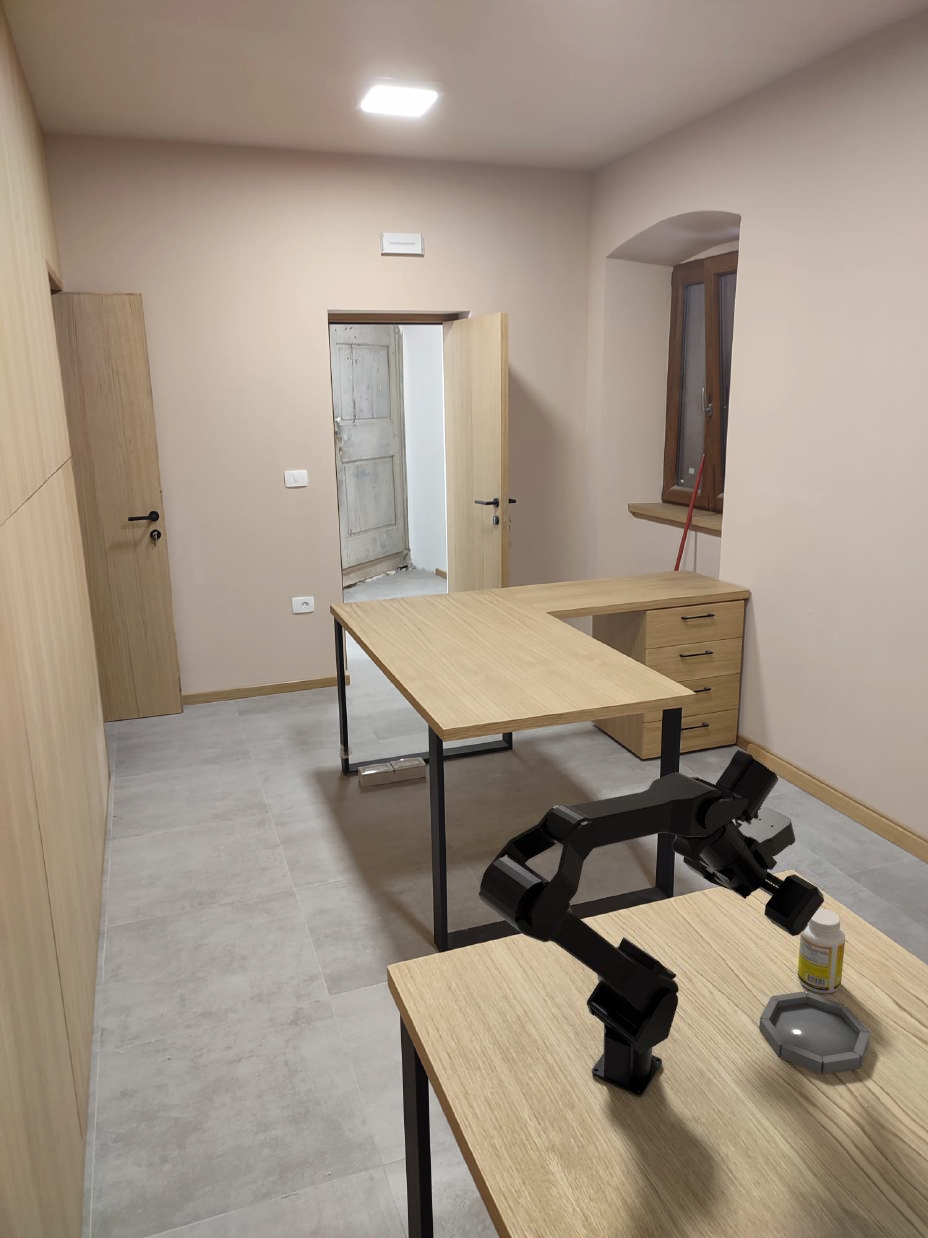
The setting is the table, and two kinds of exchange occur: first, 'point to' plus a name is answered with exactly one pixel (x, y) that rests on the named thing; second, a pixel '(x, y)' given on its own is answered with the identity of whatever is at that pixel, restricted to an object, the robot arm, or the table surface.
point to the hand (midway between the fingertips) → (776, 910)
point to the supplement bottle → (822, 953)
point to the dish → (814, 1032)
